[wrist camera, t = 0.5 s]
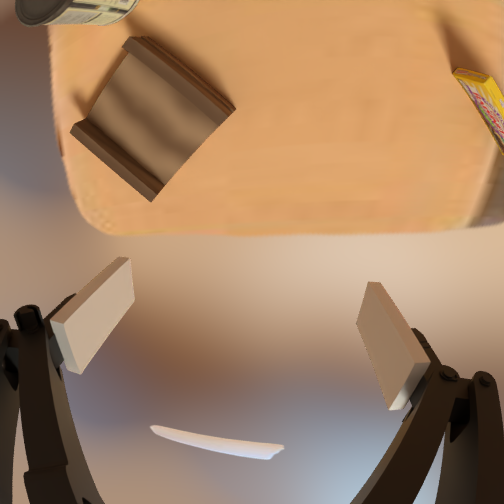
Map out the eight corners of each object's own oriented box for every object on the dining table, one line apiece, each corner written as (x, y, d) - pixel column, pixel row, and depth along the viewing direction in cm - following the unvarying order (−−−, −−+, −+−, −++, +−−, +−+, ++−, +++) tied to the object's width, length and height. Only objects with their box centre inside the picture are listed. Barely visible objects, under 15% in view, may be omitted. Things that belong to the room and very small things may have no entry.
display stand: (148, 36, 27) (130, 35, 24) (236, 108, 33) (229, 115, 29) (88, 124, 35) (69, 133, 31) (162, 187, 41) (150, 203, 37)
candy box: (449, 74, 26) (483, 82, 19) (457, 66, 25) (492, 72, 18) (500, 155, 31) (530, 176, 24) (507, 147, 30) (537, 167, 23)
